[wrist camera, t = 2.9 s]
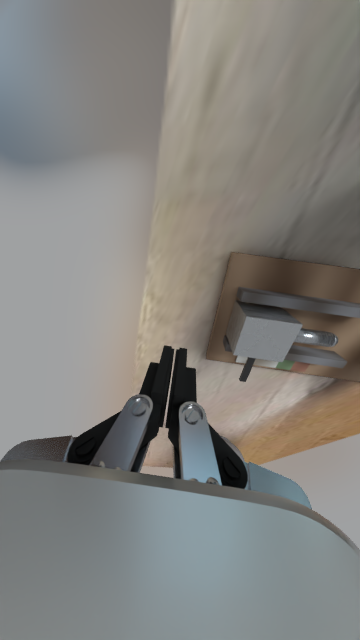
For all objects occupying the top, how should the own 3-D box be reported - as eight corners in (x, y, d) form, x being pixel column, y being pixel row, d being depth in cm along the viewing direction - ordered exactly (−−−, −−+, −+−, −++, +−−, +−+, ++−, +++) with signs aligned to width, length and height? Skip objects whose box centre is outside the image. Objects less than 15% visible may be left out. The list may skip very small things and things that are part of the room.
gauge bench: (206, 354, 23) (210, 396, 17) (231, 252, 17) (252, 258, 11) (371, 379, 23) (438, 431, 16) (462, 282, 16) (627, 309, 10)
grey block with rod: (217, 358, 22) (222, 384, 18) (235, 299, 18) (246, 316, 14) (295, 370, 22) (318, 398, 18) (330, 313, 18) (369, 334, 14)
